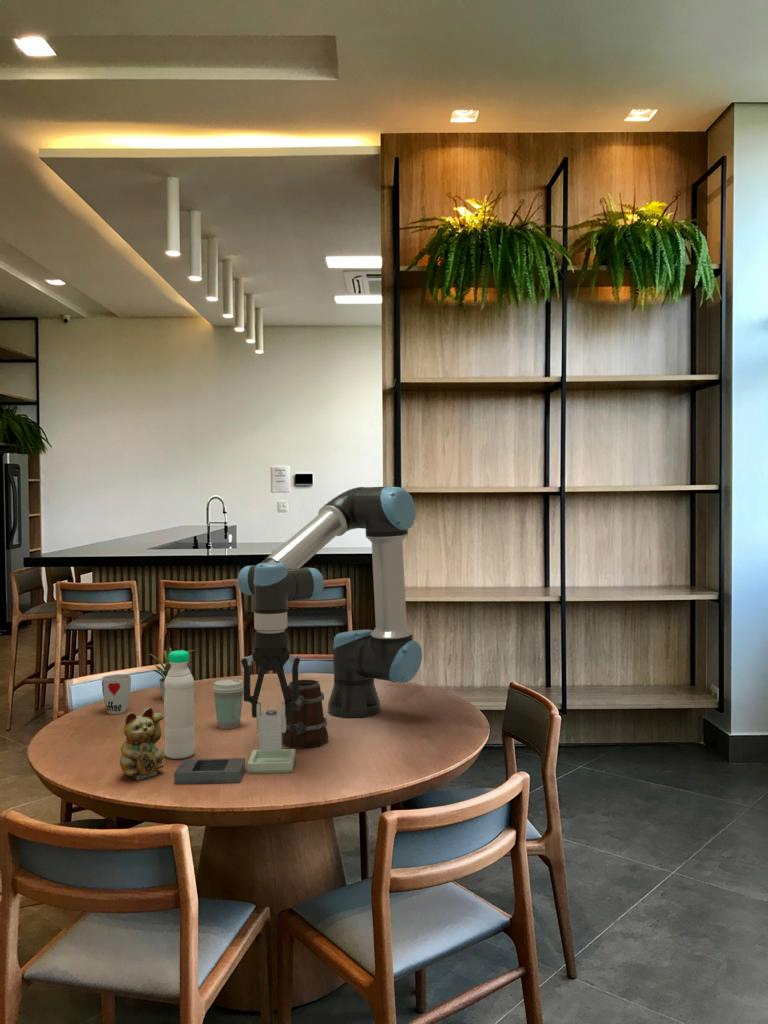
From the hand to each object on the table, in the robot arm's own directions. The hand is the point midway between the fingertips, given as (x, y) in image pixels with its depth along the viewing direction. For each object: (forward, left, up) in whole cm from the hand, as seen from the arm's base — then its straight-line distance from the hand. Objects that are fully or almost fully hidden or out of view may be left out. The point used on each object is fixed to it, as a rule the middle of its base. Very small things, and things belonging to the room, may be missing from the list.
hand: (271, 730), depth 183 cm
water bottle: (+23, -9, -8) cm, 26 cm away
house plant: (+36, -63, -8) cm, 73 cm away
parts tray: (0, 0, -8) cm, 8 cm away
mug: (-6, -16, -8) cm, 19 cm away
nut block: (0, 0, -4) cm, 4 cm away
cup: (+50, -50, -8) cm, 71 cm away
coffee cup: (+15, -33, -8) cm, 37 cm away
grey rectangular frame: (+13, +6, -8) cm, 16 cm away
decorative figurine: (+29, +4, -8) cm, 30 cm away
